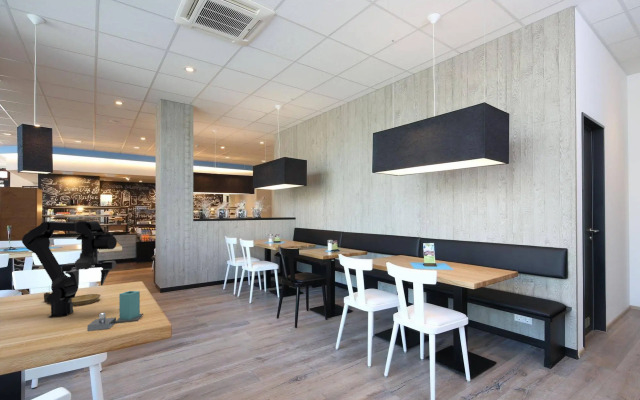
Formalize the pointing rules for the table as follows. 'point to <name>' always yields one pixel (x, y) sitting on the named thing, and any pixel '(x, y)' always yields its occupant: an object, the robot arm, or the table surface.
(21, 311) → the table surface
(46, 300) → the hand tool
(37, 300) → the table surface
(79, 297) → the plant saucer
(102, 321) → the steel stand
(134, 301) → the teal sleeve
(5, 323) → the table surface
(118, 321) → the rubber mat
